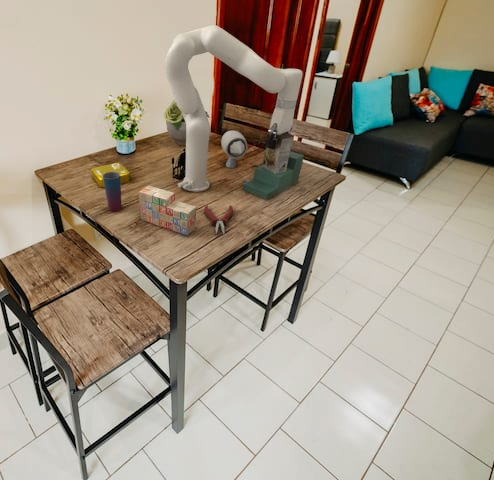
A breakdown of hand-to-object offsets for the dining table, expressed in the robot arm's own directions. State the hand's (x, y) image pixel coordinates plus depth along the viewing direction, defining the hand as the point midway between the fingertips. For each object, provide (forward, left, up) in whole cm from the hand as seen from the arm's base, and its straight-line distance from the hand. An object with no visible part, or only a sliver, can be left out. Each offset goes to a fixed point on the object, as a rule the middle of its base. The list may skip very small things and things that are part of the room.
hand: (277, 145), depth 143 cm
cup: (-64, +31, -19) cm, 74 cm away
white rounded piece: (+3, +25, -19) cm, 32 cm away
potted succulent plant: (+11, +67, -19) cm, 71 cm away
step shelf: (0, 0, -19) cm, 19 cm away
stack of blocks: (-56, +8, -19) cm, 60 cm away
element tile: (-49, +56, -19) cm, 77 cm away
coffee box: (0, 0, -11) cm, 11 cm away
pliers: (-41, -3, -19) cm, 45 cm away
